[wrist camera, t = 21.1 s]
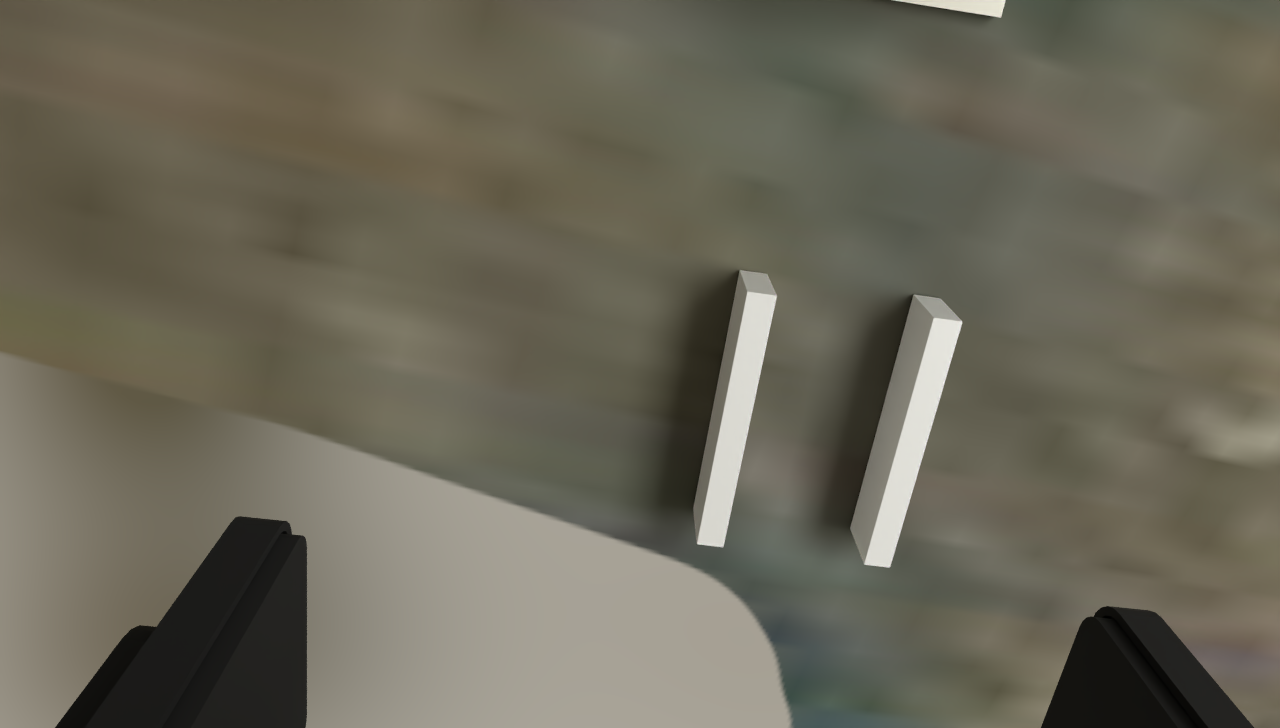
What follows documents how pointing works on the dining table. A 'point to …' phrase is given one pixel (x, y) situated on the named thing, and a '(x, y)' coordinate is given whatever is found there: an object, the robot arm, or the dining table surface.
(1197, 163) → the dining table surface
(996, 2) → the tile
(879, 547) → the channel
